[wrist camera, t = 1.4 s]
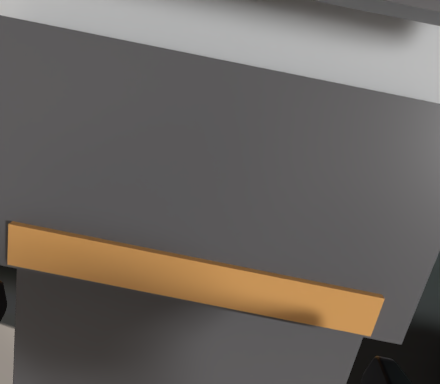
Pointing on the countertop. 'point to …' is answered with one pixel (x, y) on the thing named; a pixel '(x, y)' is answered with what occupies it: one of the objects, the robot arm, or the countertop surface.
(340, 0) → the switch
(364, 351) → the countertop surface
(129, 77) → the switch middle
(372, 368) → the robot arm
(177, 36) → the switch unit
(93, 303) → the switch
